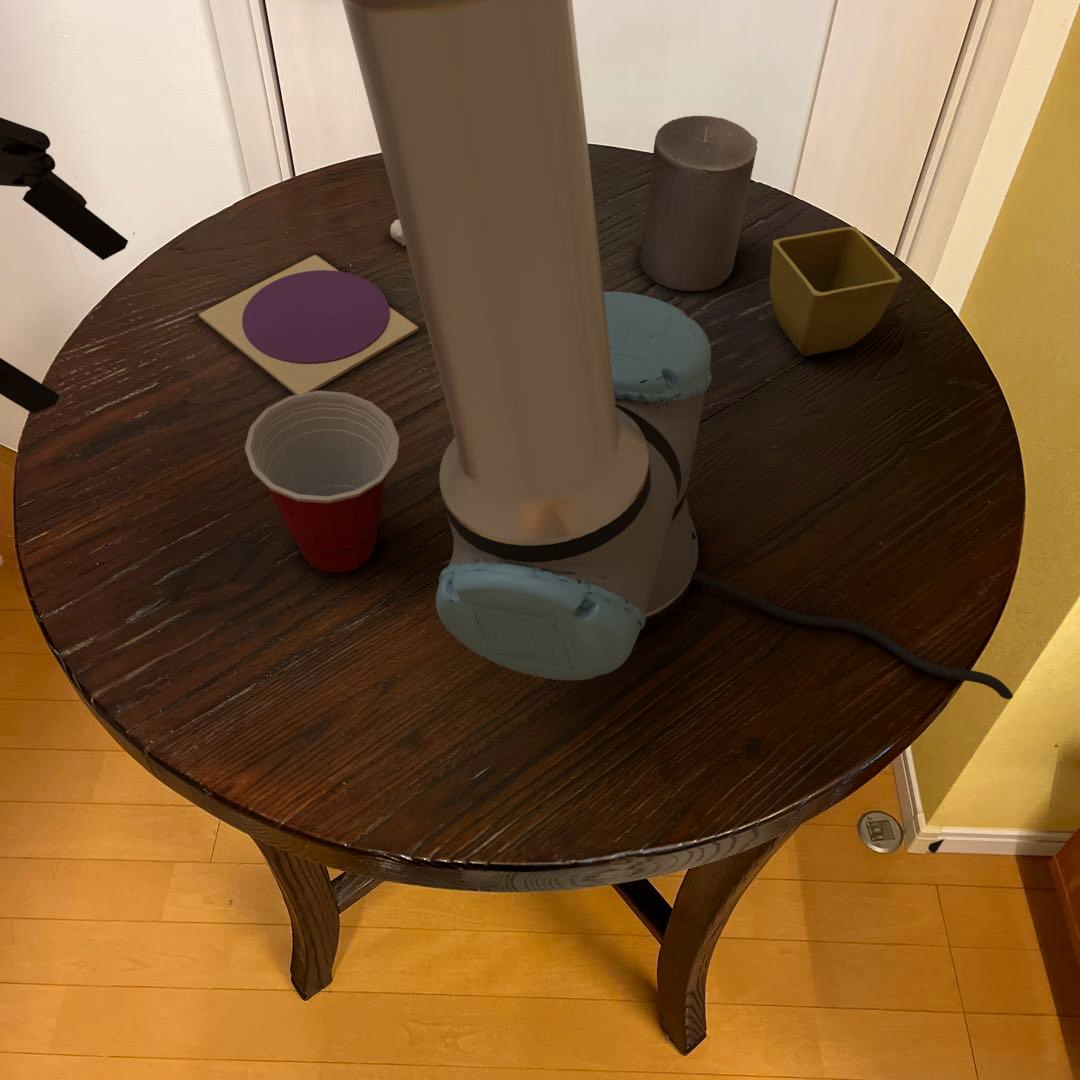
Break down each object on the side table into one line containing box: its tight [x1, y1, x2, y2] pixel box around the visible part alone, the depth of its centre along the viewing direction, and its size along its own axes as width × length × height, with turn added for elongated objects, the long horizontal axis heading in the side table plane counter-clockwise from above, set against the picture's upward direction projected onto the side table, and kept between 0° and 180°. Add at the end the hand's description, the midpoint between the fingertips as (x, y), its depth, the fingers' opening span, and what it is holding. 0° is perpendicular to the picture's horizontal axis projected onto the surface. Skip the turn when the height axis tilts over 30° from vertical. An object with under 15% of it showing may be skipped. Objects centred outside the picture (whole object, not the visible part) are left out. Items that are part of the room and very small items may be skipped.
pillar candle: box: [639, 115, 759, 292], centre depth 104 cm, size 10×10×15 cm
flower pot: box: [769, 226, 902, 357], centre depth 99 cm, size 9×9×9 cm
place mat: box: [198, 254, 420, 395], centre depth 102 cm, size 16×15×1 cm
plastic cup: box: [244, 390, 400, 574], centre depth 80 cm, size 11×11×12 cm
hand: (83, 324), depth 73 cm, fingers open, 13 cm apart
